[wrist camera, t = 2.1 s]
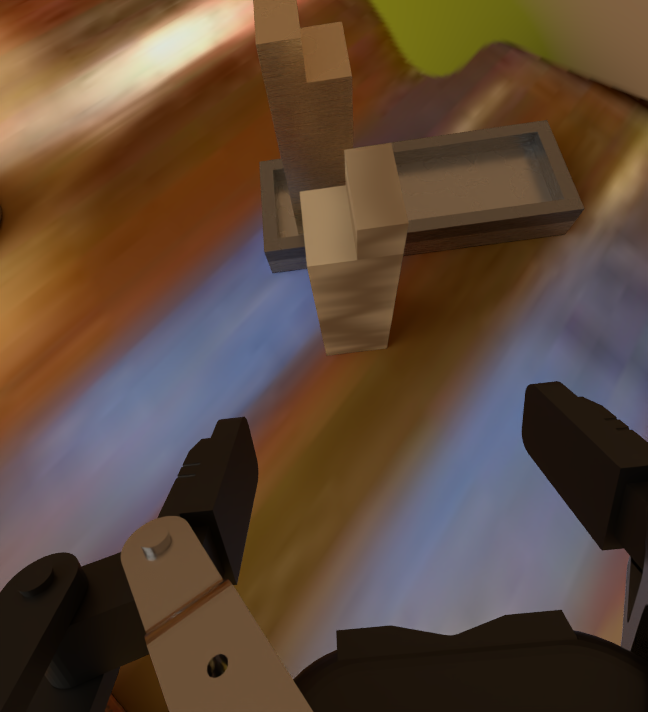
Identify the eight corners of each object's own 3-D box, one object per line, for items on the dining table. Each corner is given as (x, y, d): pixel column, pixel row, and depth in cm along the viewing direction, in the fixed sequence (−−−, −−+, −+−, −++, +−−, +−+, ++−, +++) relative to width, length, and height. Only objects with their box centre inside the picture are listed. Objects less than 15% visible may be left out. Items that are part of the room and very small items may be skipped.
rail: (272, 273, 30) (201, 85, 17) (267, 187, 33) (203, -30, 20) (565, 234, 29) (741, 2, 16) (532, 150, 32) (656, -105, 19)
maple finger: (325, 355, 28) (299, 238, 15) (320, 302, 29) (291, 157, 17) (386, 348, 27) (408, 223, 15) (377, 295, 29) (391, 142, 17)
